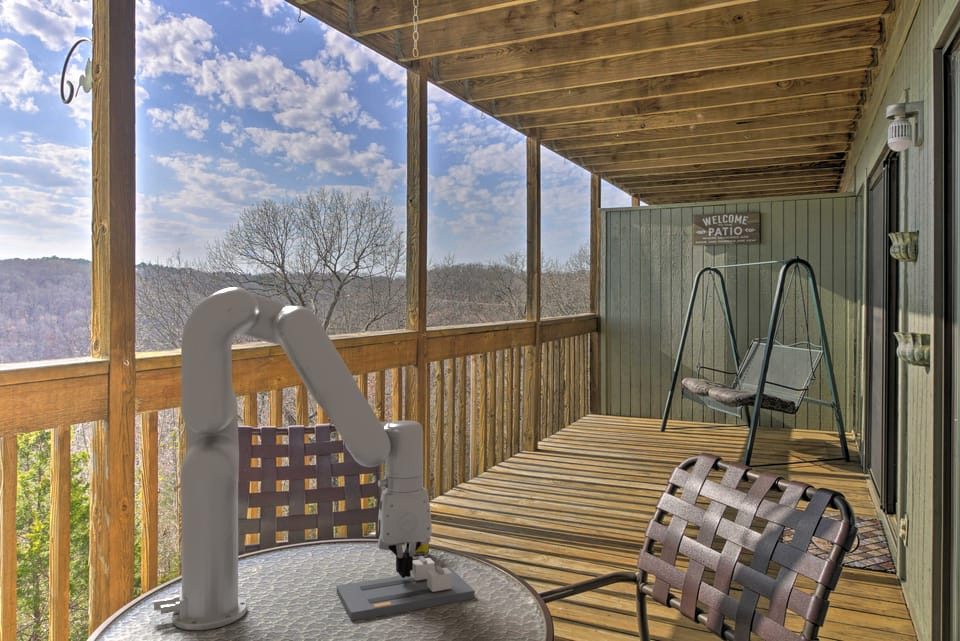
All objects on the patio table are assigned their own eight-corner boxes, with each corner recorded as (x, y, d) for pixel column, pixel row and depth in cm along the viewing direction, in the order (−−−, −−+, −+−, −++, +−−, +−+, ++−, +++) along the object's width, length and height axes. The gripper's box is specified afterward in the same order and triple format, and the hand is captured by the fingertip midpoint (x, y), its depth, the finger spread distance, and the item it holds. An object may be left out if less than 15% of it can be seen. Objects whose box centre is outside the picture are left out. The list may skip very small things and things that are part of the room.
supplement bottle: (414, 562, 146) (414, 516, 146) (399, 555, 150) (399, 510, 150) (434, 555, 150) (434, 511, 150) (418, 549, 154) (419, 506, 154)
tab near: (432, 591, 125) (432, 573, 125) (427, 586, 128) (427, 567, 128) (451, 588, 127) (451, 569, 127) (446, 582, 130) (446, 564, 130)
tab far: (415, 580, 131) (415, 562, 131) (411, 575, 133) (411, 557, 133) (434, 577, 132) (434, 559, 132) (429, 572, 135) (429, 554, 135)
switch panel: (351, 621, 117) (351, 612, 117) (336, 593, 129) (336, 585, 129) (474, 598, 127) (474, 590, 127) (450, 574, 139) (450, 567, 139)
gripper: (372, 491, 125) (372, 588, 125) (445, 483, 131) (445, 575, 131) (362, 482, 132) (363, 574, 132) (433, 475, 138) (433, 563, 138)
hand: (404, 574), depth 131 cm, fingers closed
